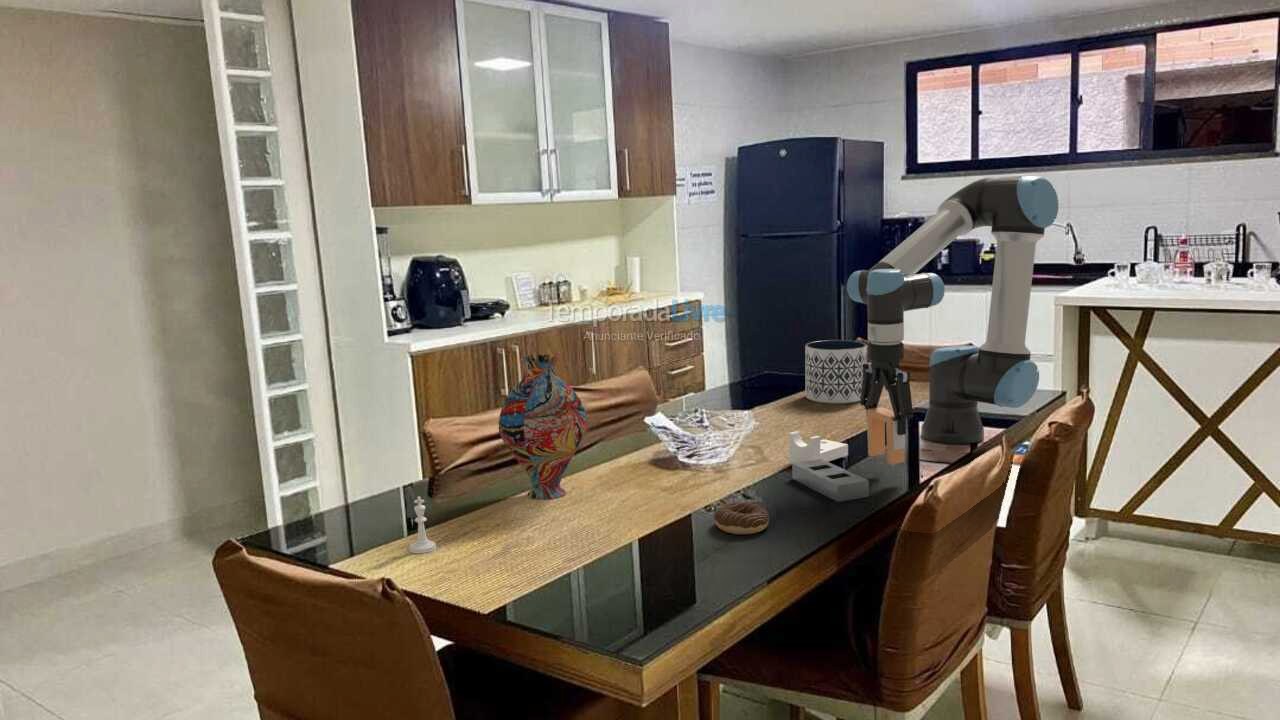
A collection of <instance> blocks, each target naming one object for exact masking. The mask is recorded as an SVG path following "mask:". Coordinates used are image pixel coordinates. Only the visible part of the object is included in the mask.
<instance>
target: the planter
mask: <svg viewBox="0 0 1280 720" xmlns="http://www.w3.org/2000/svg"><path fill="white" fill-rule="evenodd" d="M804 347H805V351H804V353H805V354H804V356H805V357H804V358H805V359H804V361H805V362H804V363H805V364H804V365H805V366H804V367H805V368H804V371H805V373H804V375H805V377H804V380H805V381H804V382H805V388H804V389H805V391H804V392H805V393H804V394H805V397H806V398H807V399H808V400H810V401H812V402H815V403H821V404H830V405H831V404H833V405H841V404H842V405H844V404H853V403H858V402H859V403H860V398H861V389H862V381H863V364H865V363H868V362H867V360H868V344H866V343H865V342H862V341H855V340H848V339H847V340H846V339H845V340H844V339H827V340H825V339H824V340H816V341H811V342H807V343H806V344H805V346H804Z"/></svg>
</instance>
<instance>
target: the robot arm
mask: <svg viewBox="0 0 1280 720" xmlns="http://www.w3.org/2000/svg"><path fill="white" fill-rule="evenodd" d="M1058 213H1059V199H1058V194H1057V192H1056V189H1055V188H1054V185H1053V184H1052V182H1050V181H1049V180H1048V179H1047V178H1045V177H1042V176H1035V175H1034V176H1030V175H1023V176H1003V177H999V176H998V177H993V176H992V177H990V176H989V177H985V178H981V179H978V180H975V181H973V182H971V183H968V185H965V186H964V187H962V188H960V189H959V190H957V191H956V192H954V193H953V194H952V195H950V196H949V197H947V199H945V200H944V201H943V202H942V203H941V204H940V205H939V206H938V208H937V212H936V213H935V214H934V215H932V217H931V218H929V219H928V220H927V221H926V222H924V223H922V225H921V226H920V227H919V228H917V229H916V230H915V231H914V232H913V233H911V234H910V235H909V236H908V237H906V239H905V240H903V241H902V242H901V243H900V244H899V245H897V246H896V247H895V248H894V249H892V250H891V251H890V252H889V253H888V254H886V255H885V256H884V257H883V258H882V259H880V261H878V263H876V264H875V265H873V266H872V267H871V268H870V269H868V270H866V269H862V270H857V271H854V272H853V273H851V274H850V275H849V278H848V280H847V284H846V291H847V293H848V296H849V298H850V299H851V300H853V301H854V302H856V303H861V304H864V305H867V310H866V311H867V340H868V341H869V342H868V343H867V360H869V361H871V362H867V363H865V364H863V381H862V389H861V398H860V401H859V404H860V406H863V407H864V409H865V411H866V423H867V425H866V426H867V427H866V428H867V430H868V409H872V408H878V407H880V405H879V402H880V400H881V396H882V392H883V389H885V390H886V391H887V393H888V396H889V400H890V404H891V408H892V411H893V412H894V415H895V418H894V419H893V449H894V450H897V449H903V448H905V449H906V434H907V421H908V419H913V418H914V409H913V408H914V407H913V402H912V400H913V399H912V394H911V393H912V392H911V384H910V383H911V382H910V380H911V373H910V371H902V369H901V366H900V363H901V361H902V360H903V359H904V356H905V355H904V354H905V349H904V347H905V344H904V343H903V340H904V339H905V324H904V322H905V321H904V319H905V317H904V312H907V311H915V310H921V309H928V308H931V307H934V306H935V307H936V306H938V305H939V304H940V303H941V302H942V301H943V298H944V296H945V284H944V282H943V279H942V278H941V277H940V276H939V275H938V274H936V273H933V272H921V273H918V272H919V271H920V270H921V269H922V268H924V267H925V266H926V265H927V264H928V263H929V262H930V261H931V260H932V259H934V258H935V257H936V256H937V255H938V254H940V252H941V251H943V250H944V249H945V248H947V246H948V245H950V244H951V243H952V242H953V241H954V240H956V239H957V238H958V237H959V236H961V237H962V236H966V235H967V234H969V233H970V232H971V231H972V230H974V229H977V228H982V227H991V230H990V231H991V232H990V233H991V235H992V236H993V237H994V238H995V240H996V248H995V249H996V250H995V256H994V257H995V258H994V267H993V277H992V287H991V294H990V295H991V296H990V303H989V304H990V306H989V313H988V315H989V316H988V323H987V334H986V341H985V342H984V343H983V344H982V345H980V346H978V345H958V346H957V345H956V346H955V345H954V346H945V347H940V348H935V349H933V350H932V352H931V353H930V358H929V359H930V360H929V366H928V367H929V368H928V369H929V372H928V374H929V375H928V376H929V384H928V387H929V389H928V390H929V392H928V396H929V399H928V408H927V411H926V414H925V417H924V420H923V423H922V425H921V431H920V433H921V435H920V436H921V438H924V439H925V440H927V441H931V442H935V443H941V444H942V443H943V444H950V445H965V444H974V443H978V442H981V441H983V440H984V439H985V429H984V426H983V423H982V422H983V421H982V419H981V415H980V413H979V408H978V403H983V404H989V405H993V406H998V407H999V408H1011V409H1017V408H1021V407H1023V406H1025V405H1027V403H1029V401H1030V400H1031V399H1032V398H1033V396H1034V395H1035V394H1036V391H1037V388H1038V386H1039V382H1040V370H1038V366H1037V364H1036V363H1035V362H1034V361H1032V360H1031V356H1032V355H1031V353H1032V352H1031V351H1030V349H1029V348H1028V347H1027V346H1026V338H1027V337H1026V336H1027V328H1028V327H1027V326H1028V321H1029V320H1028V319H1029V310H1030V300H1031V291H1032V282H1033V274H1034V263H1035V258H1036V257H1035V256H1036V248H1037V243H1038V242H1039V241H1040V240H1041V239H1043V238H1044V237H1045V229H1046V228H1048V227H1050V226H1052V225H1053V224H1054V223H1055V220H1056V219H1057V217H1058ZM899 413H900V414H899Z"/></svg>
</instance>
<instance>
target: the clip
mask: <svg viewBox="0 0 1280 720" xmlns="http://www.w3.org/2000/svg"><path fill="white" fill-rule="evenodd" d="M899 414H900V413H899ZM894 418H895V415H894V412H893V410H892V409H891V410H890V409H888V408H885V407H881V406H879V407H878V408H872V409H868V429H867V455H868V456H870V457H877V456H883V455H885V454H886V457H887V458H886V463H887V464H889V465H891V466H892V465H896V464H902V463H905V460H906V459H905V455H906V453H905V452H906V451H905V449H906V447H905V448H903V449H897V450H894V449H893V419H894Z"/></svg>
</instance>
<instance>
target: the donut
mask: <svg viewBox="0 0 1280 720" xmlns="http://www.w3.org/2000/svg"><path fill="white" fill-rule="evenodd" d="M713 520H714V523H715V525H716V526H717V528H719V529H720V530H722V531H723V532H725V533H729V534H733V535H741V534H742V535H743V536H744V535H753V534H754V535H755V534H756V533H760V532H762V531H763V530H765V529H766V528H767V527H768V525H769V522H770V520H771V519H770V515H769V512H768V511H767V510H766V509H765V508H764V507H762V506H760V505H759V504H756V503H751V502H747V501H744V502H742V501H733V502H731V501H730V502H726V503H723V504H722V505H721V506H719V507H718V508H717V509H716V511H715V512H714V516H713Z"/></svg>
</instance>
